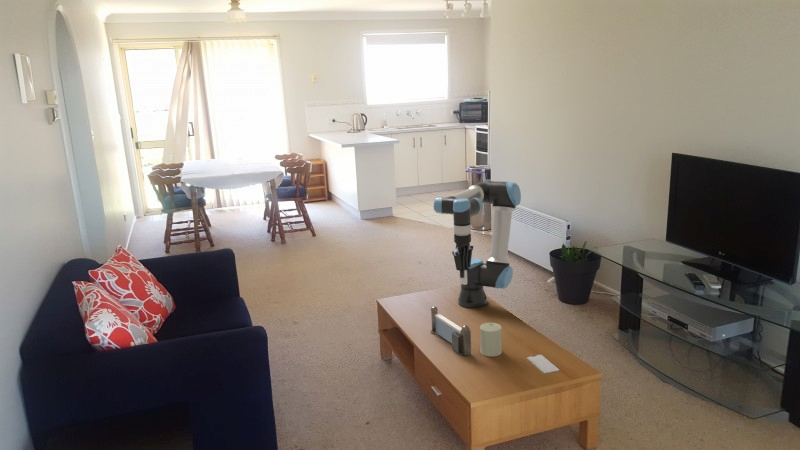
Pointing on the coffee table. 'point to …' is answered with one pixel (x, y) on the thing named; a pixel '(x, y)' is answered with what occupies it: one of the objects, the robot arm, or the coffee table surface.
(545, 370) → the smartphone
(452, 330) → the gate
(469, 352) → the latch post
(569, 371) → the coffee table surface
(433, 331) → the hinge post
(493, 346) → the can
